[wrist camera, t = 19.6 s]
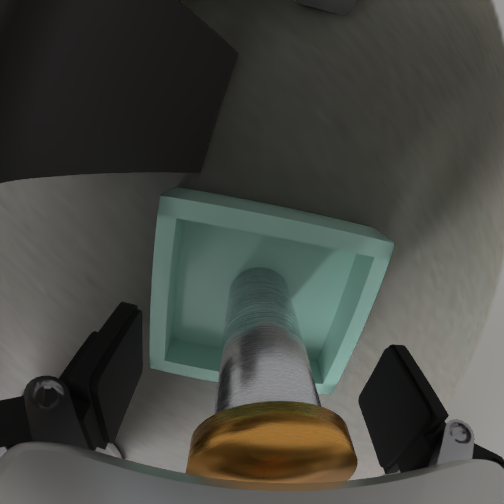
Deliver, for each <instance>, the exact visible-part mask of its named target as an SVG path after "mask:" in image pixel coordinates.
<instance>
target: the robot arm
mask: <svg viewBox="0 0 504 504" xmlns="http://www.w3.org/2000/svg"><path fill="white" fill-rule="evenodd" d="M142 368H143V361H142V311H141V310H138V307H137V305H134V304H130V303H126V302H121V303H120V304H119V305H118V307H117V308H116V309H115V311H114V312H113V313H112V315H111V316H110V317H109V319H108V320H107V321H106V323H105V324H104V325H103V327H102V328H101V329H100V331H99V332H96V331H94V332H92V333H91V334H90V336H89V337H88V338H87V340H86V341H85V342H84V344H83V345H82V346H81V348H80V349H79V351H78V352H77V353H76V355H75V356H74V357H73V359H72V360H71V362H70V363H69V365H68V366H67V367H66V369H65V370H64V372H63V373H62V375H61V376H60V378H59V379H58V378H56V377H52V376H40V377H37V378H35V379H33V380H31V381H30V382H29V383H28V384H27V386H26V388H25V390H24V396H21V397H16V398H11V399H6V400H1V401H0V504H504V460H503V458H502V457H500V456H498V455H497V454H495V453H493V452H491V451H489V450H487V449H485V448H483V447H480V446H478V445H477V444H475V443H474V434H473V431H472V429H471V428H470V426H469V425H468V424H466V423H465V422H463V421H461V420H458V419H453V420H450V421H449V422H448V423H447V424H446V423H445V420H446V418H447V417H448V413H447V412H446V410H445V408H444V407H443V405H442V403H441V402H440V400H439V398H438V397H437V395H436V393H435V392H434V390H433V389H432V387H431V385H430V384H429V382H428V381H427V379H426V377H425V376H424V374H423V373H422V371H421V369H420V368H419V366H418V365H417V363H416V362H415V360H414V359H413V357H412V356H411V354H410V353H409V351H408V350H407V348H406V347H405V346H403V345H390V346H389V347H388V348H386V349H385V350H384V352H383V354H382V356H381V358H380V360H379V362H378V364H377V365H376V367H375V369H374V371H373V373H372V375H371V376H370V378H369V380H368V382H367V383H366V385H365V387H364V389H363V390H362V392H361V394H360V396H359V400H358V401H359V406H360V408H361V411H362V414H363V417H364V420H365V422H366V425H367V428H368V431H369V434H370V437H371V440H372V443H373V446H374V449H375V452H376V455H377V458H378V461H379V464H380V466H381V467H383V468H384V471H385V474H389V473H395V472H397V471H398V470H400V471H401V473H398V474H392V475H387V476H380V477H374V478H366V479H358V480H349V481H338V482H322V483H263V482H247V481H235V480H226V479H218V478H210V477H204V476H197V475H191V474H186V473H181V472H176V471H171V470H166V469H161V468H157V467H152V466H148V465H144V464H140V463H136V462H133V461H129V460H125V459H122V457H121V454H120V452H119V451H118V449H117V448H116V446H115V445H114V444H113V442H114V440H115V438H116V435H117V433H118V430H119V428H120V425H121V423H122V420H123V418H124V415H125V413H126V410H127V408H128V405H129V403H130V400H131V398H132V395H133V393H134V391H135V388H136V386H137V383H138V381H139V379H140V376H141V373H142Z"/></svg>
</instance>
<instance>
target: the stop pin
mask: <svg viewBox="0 0 504 504" xmlns="http://www.w3.org/2000/svg"><path fill="white" fill-rule="evenodd" d="M356 467H357V457H356V454H355V451H354V447H353V444H352V441H351V438H350V435H349V432H348V428H347V426H346V423H345V422H344V420H343V419H342V418H341V417H340V416H339V415H337V414H336V413H334V412H333V411H331V410H329V409H326V408H324V407H321V404H320V401H319V397H318V393H317V389H316V385H315V382H314V378H313V374H312V371H311V367H310V363H309V360H308V356H307V352H306V349H305V345H304V342H303V338H302V334H301V331H300V327H299V324H298V320H297V317H296V313H295V310H294V306H293V303H292V299H291V296H290V292H289V289H288V286H287V283H286V281H285V280H284V279H283V277H282V276H281V275H280V274H278V273H277V272H275V271H273V270H271V269H268V268H261V267H259V268H251V269H248V270H245V271H244V272H242V273H240V274H239V275H238V276H237V277H236V278H235V279H234V280H233V282H232V284H231V286H230V290H229V296H228V304H227V312H226V320H225V328H224V336H223V344H222V352H221V361H220V369H219V377H218V386H217V395H216V404H215V413H214V415H213V416H211V417H209V418H208V419H206V420H205V421H203V422H202V423H201V424H200V425H199V426H198V427H197V428H196V429H195V431H194V433H193V435H192V439H191V444H190V450H189V456H188V462H187V468H186V474H191V475H197V476H204V477H210V478H218V479H226V480H235V481H247V482H263V483H322V482H338V481H347V480H348V479H349V478H350V477H351V476H352V475H353V473H354V472H355V470H356Z"/></svg>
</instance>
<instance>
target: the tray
mask: <svg viewBox="0 0 504 504" xmlns="http://www.w3.org/2000/svg"><path fill="white" fill-rule="evenodd" d="M394 246H395V243H394V242H392V241H391V240H390V239H388V238H387V237H386V236H384V235H383V234H381V233H380V232H379V231H377V230H376V229H375V228H373V227H369V226H365V225H361V224H356V223H352V222H348V221H344V220H340V219H336V218H331V217H327V216H323V215H318V214H314V213H309V212H305V211H300V210H296V209H291V208H286V207H281V206H277V205H272V204H267V203H262V202H257V201H252V200H247V199H242V198H236V197H231V196H226V195H220V194H215V193H209V192H203V191H197V190H192V189H186V188H180V187H175V188H173V189H171V190H169V191H167V192H165V193H163V194H162V195H160V198H159V206H158V215H157V224H156V234H155V244H154V256H153V269H152V285H151V306H150V368H152V369H156V370H160V371H164V372H169V373H173V374H178V375H182V376H187V377H192V378H197V379H202V380H208V381H213V382H218V377H219V369H220V361H221V352H222V344H223V336H224V328H225V320H226V312H227V304H228V296H229V290H230V286H231V284H232V282H233V280H234V279H235V278H236V277H237V276H238V275H239V274H240V273H242V272H244V271H245V270H248V269H251V268H259V267H261V268H268V269H271V270H273V271H275V272H277V273H278V274H280V275H281V276H282V277H283V279H284V280H285V281H286V283H287V286H288V289H289V292H290V296H291V299H292V303H293V306H294V310H295V313H296V317H297V320H298V324H299V327H300V331H301V334H302V338H303V342H304V345H305V349H306V352H307V356H308V360H309V363H310V367H311V371H312V374H313V378H314V382H315V385H316V389H317V393H318V394H332V392H333V390H334V388H335V386H336V385H337V383H338V381H339V379H340V377H341V375H342V373H343V371H344V369H345V367H346V365H347V363H348V360H349V358H350V356H351V354H352V352H353V350H354V348H355V346H356V343H357V341H358V339H359V337H360V334H361V332H362V330H363V328H364V325H365V323H366V321H367V318H368V316H369V313H370V311H371V309H372V306H373V304H374V301H375V299H376V296H377V293H378V291H379V288H380V286H381V283H382V280H383V277H384V275H385V272H386V269H387V266H388V263H389V261H390V258H391V255H392V252H393V249H394Z"/></svg>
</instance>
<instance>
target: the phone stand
mask: <svg viewBox="0 0 504 504" xmlns="http://www.w3.org/2000/svg"><path fill="white" fill-rule="evenodd" d="M237 56H238V53H237V52H236V51H235V50H234V49H233V48H232V47H231V46H230V45H229V44H228V43H227V42H226V41H225V40H224V39H222V38H221V37H220V36H219V35H218V34H217V33H216V32H215V31H214V30H213V29H211V28H210V27H209V26H208V25H207V24H206V23H205V22H203V21H202V20H201V19H200V18H199V17H198V16H196V15H195V14H194V13H193V12H192V11H190V10H189V9H188V8H187V7H185V6H184V5H183V4H182V3H180V2H179V1H178V0H0V183H3V182H8V181H14V180H21V179H29V178H40V177H51V176H64V175H80V174H99V173H131V172H189V173H200V171H201V168H202V164H203V161H204V157H205V154H206V150H207V147H208V143H209V140H210V137H211V134H212V130H213V127H214V124H215V121H216V117H217V114H218V111H219V108H220V105H221V102H222V99H223V96H224V93H225V90H226V87H227V84H228V81H229V78H230V75H231V73H232V70H233V67H234V64H235V61H236V59H237Z"/></svg>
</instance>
